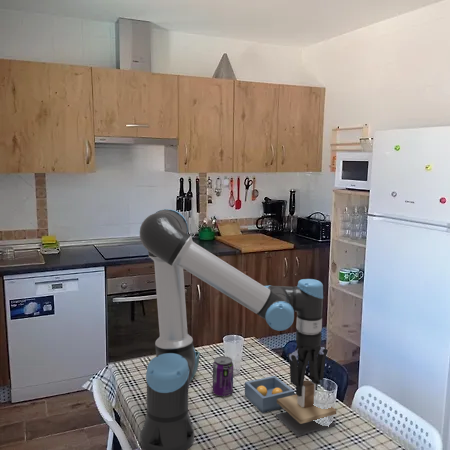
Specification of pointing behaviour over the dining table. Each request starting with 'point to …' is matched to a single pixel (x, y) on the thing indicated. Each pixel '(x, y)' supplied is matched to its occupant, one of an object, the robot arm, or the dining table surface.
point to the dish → (267, 393)
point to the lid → (308, 410)
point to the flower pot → (196, 364)
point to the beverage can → (222, 376)
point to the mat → (300, 428)
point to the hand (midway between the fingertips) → (306, 403)
